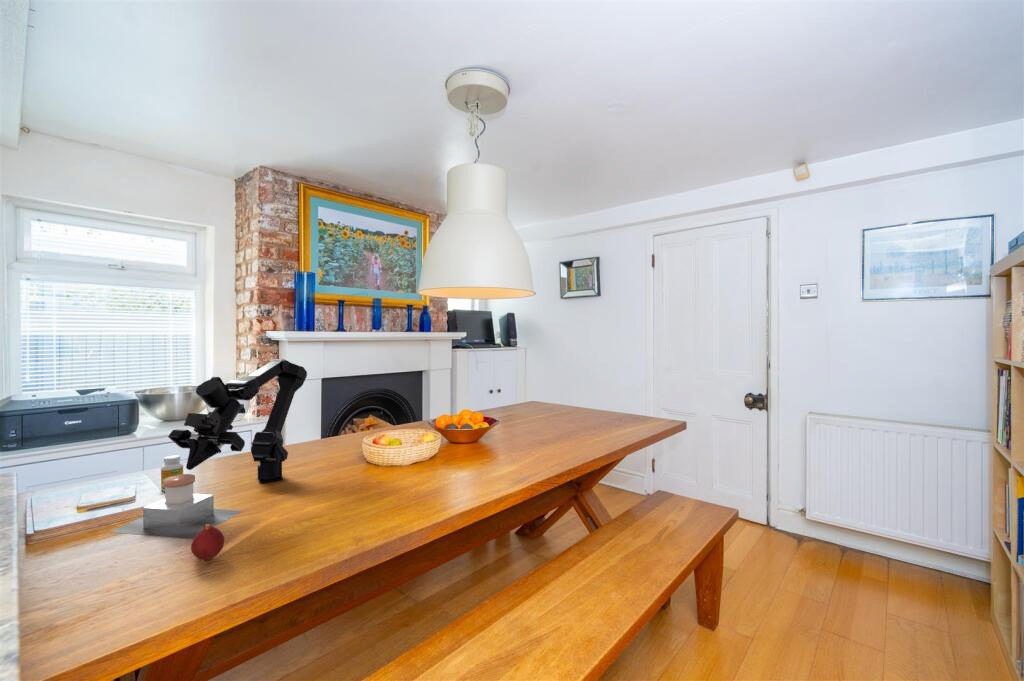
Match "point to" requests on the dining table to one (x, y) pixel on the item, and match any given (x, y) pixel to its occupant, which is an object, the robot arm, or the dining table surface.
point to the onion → (207, 543)
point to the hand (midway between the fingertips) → (188, 469)
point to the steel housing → (178, 513)
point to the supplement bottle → (171, 468)
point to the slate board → (186, 533)
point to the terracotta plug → (179, 489)
